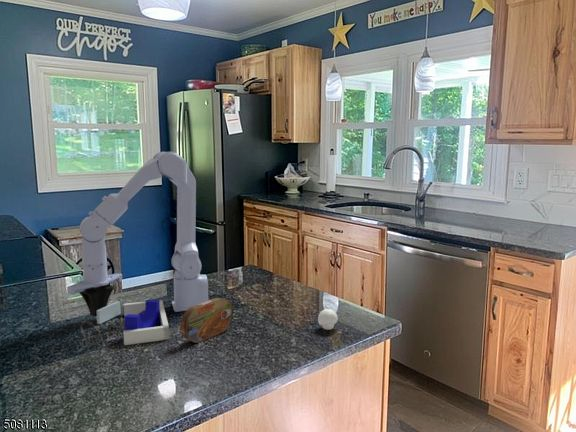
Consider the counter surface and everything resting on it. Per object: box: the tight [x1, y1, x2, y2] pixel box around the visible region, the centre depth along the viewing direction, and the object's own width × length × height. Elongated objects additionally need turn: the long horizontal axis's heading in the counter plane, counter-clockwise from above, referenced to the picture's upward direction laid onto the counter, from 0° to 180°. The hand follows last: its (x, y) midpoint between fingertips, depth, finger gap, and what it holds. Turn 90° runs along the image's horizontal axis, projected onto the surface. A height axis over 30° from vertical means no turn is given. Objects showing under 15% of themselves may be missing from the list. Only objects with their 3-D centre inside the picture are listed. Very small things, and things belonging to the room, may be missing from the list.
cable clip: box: [124, 299, 161, 331], centre depth 107 cm, size 12×4×6 cm, turn 172°
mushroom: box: [317, 308, 339, 331], centre depth 109 cm, size 5×5×5 cm
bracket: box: [123, 299, 170, 346], centre depth 110 cm, size 10×20×3 cm, turn 20°
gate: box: [96, 298, 124, 325], centre depth 115 cm, size 1×8×4 cm, turn 160°
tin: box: [180, 297, 234, 344], centre depth 105 cm, size 15×3×8 cm, turn 143°
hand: (97, 314), depth 114 cm, fingers closed
